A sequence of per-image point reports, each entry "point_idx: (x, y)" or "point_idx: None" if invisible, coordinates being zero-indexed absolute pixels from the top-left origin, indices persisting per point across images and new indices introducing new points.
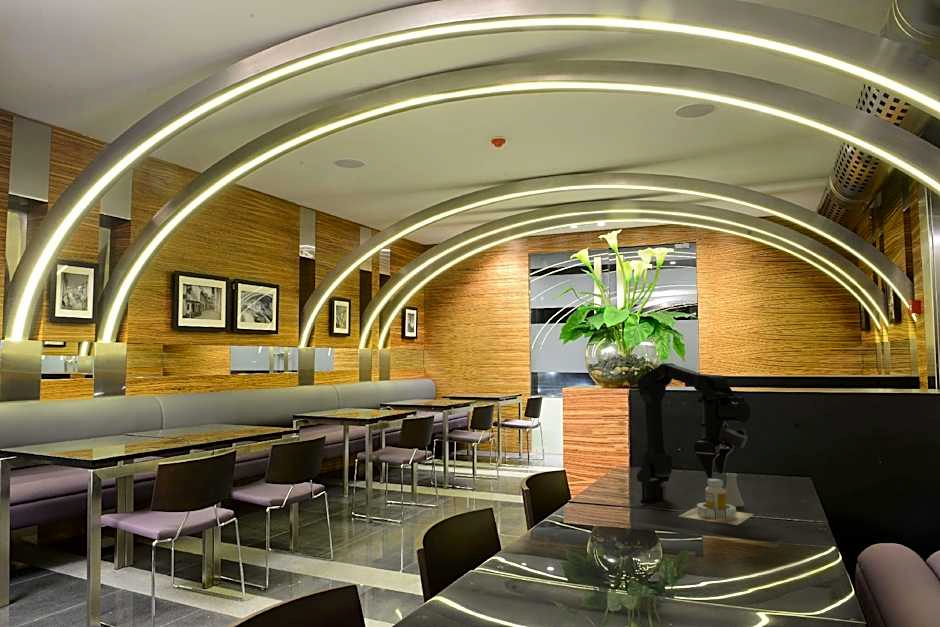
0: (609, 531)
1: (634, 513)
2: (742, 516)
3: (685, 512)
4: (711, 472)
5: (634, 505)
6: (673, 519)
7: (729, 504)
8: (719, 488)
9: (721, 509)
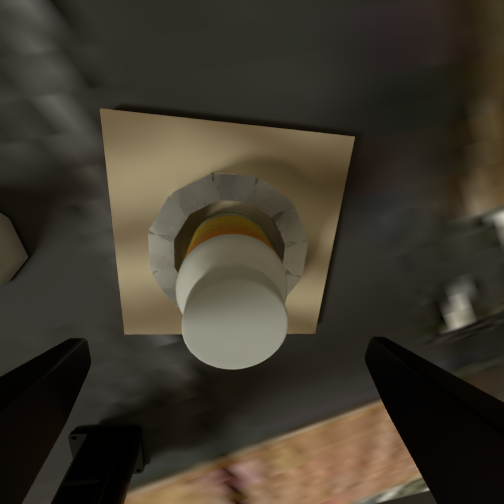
0: (487, 392)
1: (291, 423)
2: (187, 149)
3: None
4: (433, 369)
5: (197, 457)
6: (309, 337)
7: (1, 248)
8: (261, 269)
9: (289, 220)
